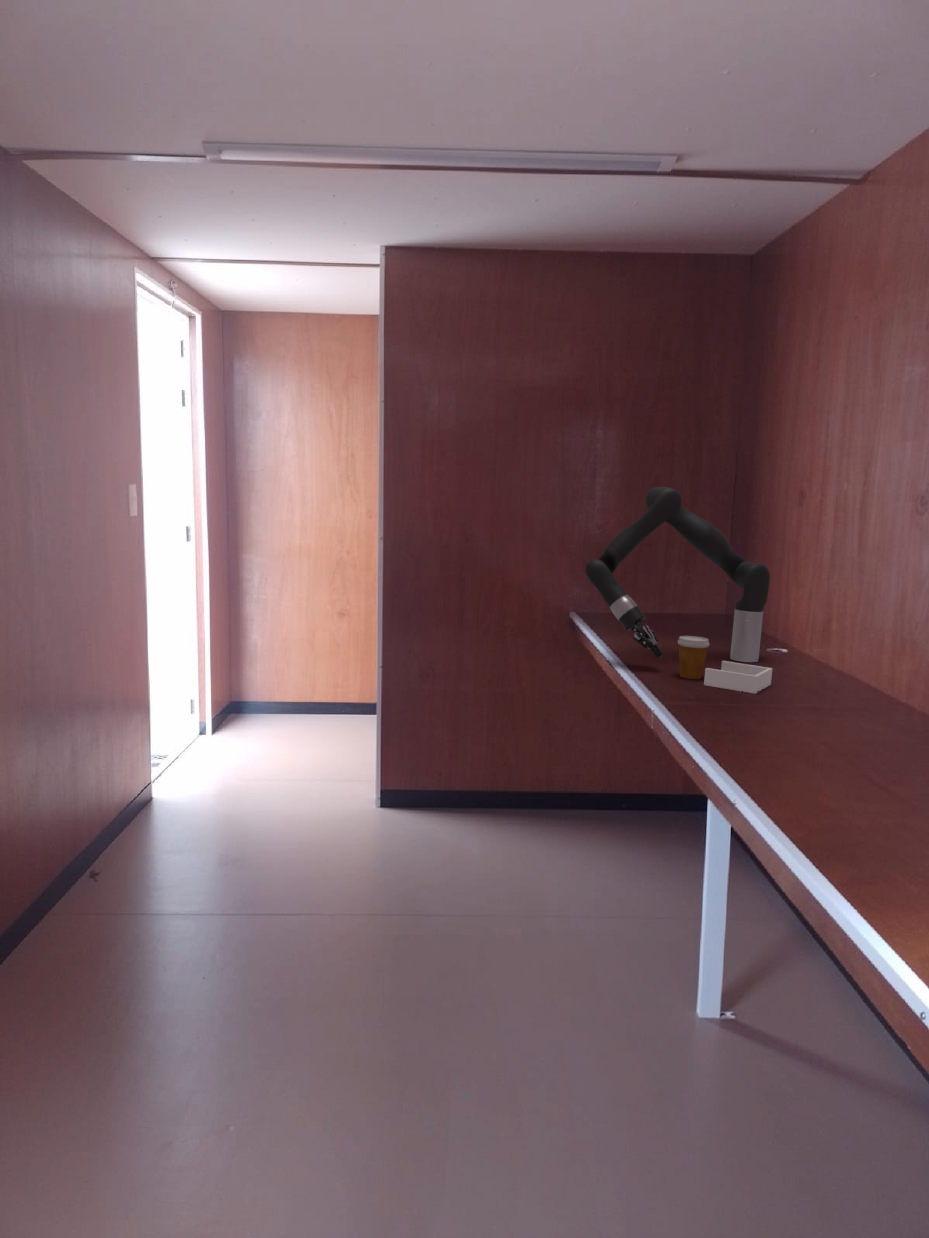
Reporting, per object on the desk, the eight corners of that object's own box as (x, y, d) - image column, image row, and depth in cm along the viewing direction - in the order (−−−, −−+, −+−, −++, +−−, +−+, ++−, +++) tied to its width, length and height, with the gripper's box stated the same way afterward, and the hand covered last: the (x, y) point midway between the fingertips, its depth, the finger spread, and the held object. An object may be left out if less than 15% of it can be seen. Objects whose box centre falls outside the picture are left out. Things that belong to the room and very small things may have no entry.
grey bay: (721, 676, 276) (722, 660, 275) (770, 684, 267) (772, 668, 267) (703, 685, 262) (705, 668, 262) (755, 693, 254) (756, 676, 253)
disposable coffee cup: (709, 681, 268) (713, 641, 266) (678, 679, 268) (681, 640, 266) (702, 674, 277) (705, 636, 276) (671, 672, 278) (674, 634, 276)
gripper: (627, 607, 275) (661, 652, 270) (644, 603, 286) (677, 646, 281) (610, 621, 279) (643, 666, 274) (627, 617, 290) (660, 660, 285)
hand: (660, 656), depth 277 cm, fingers closed
